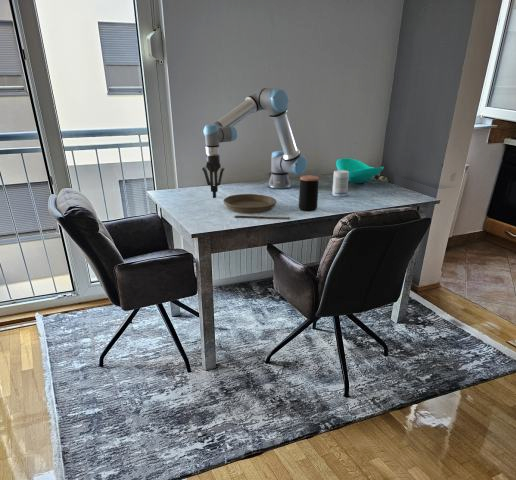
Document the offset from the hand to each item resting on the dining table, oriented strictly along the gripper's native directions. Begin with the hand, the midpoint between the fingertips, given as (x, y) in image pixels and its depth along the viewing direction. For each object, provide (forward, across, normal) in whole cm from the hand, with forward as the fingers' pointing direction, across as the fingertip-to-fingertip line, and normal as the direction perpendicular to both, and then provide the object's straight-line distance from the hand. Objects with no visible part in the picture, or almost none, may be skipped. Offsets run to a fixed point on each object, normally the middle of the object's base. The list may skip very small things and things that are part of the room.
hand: (214, 197), depth 275 cm
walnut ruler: (+5, +30, -20) cm, 36 cm away
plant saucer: (+6, +21, 0) cm, 22 cm away
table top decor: (+5, +90, +75) cm, 117 cm away
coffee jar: (+5, +55, 0) cm, 55 cm away
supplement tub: (+5, +75, +36) cm, 83 cm away
